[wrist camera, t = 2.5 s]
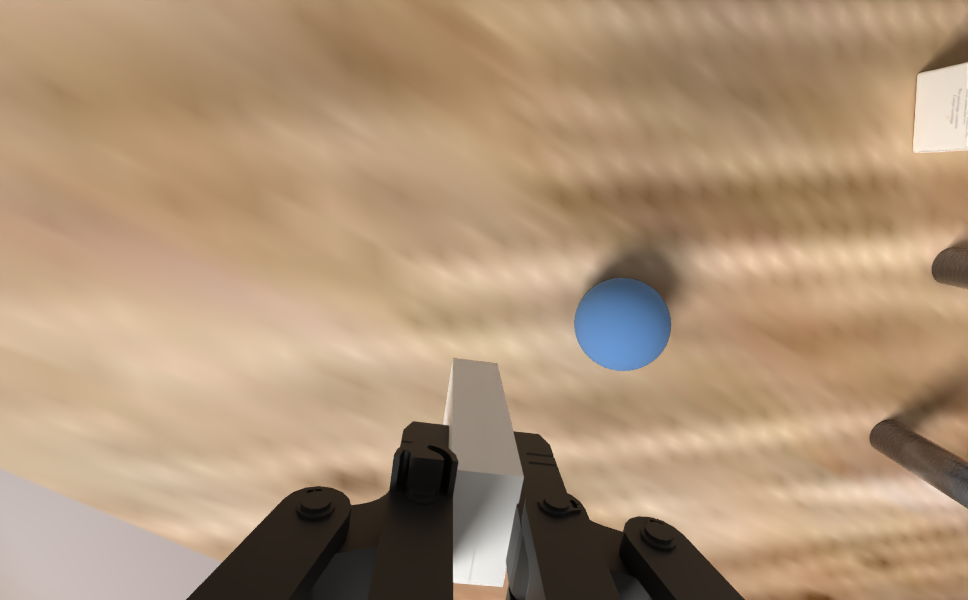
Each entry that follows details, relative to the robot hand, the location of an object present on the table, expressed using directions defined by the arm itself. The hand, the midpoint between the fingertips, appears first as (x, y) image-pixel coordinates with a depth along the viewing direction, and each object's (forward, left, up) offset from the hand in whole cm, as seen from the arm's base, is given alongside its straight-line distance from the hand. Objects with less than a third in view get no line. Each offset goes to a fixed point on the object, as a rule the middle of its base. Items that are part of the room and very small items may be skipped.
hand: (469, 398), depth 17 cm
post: (+6, +31, -15) cm, 35 cm away
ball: (0, +9, -12) cm, 16 cm away
